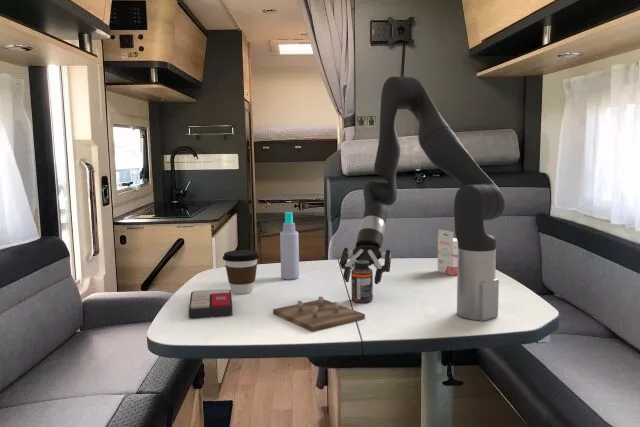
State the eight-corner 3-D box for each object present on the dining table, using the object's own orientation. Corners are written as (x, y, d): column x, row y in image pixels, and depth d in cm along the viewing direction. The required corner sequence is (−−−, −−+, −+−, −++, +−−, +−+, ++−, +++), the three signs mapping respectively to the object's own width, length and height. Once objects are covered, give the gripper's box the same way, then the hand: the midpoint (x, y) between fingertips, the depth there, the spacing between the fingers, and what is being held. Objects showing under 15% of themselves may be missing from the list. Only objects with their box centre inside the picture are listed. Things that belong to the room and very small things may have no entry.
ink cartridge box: (464, 274, 183) (465, 231, 181) (452, 276, 181) (453, 232, 179) (448, 269, 191) (448, 227, 189) (436, 271, 188) (437, 229, 187)
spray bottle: (292, 280, 177) (291, 213, 175) (277, 278, 180) (275, 213, 178) (302, 277, 182) (301, 211, 180) (287, 275, 185) (286, 211, 183)
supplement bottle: (350, 298, 155) (349, 259, 154) (370, 297, 156) (370, 258, 155) (352, 304, 150) (352, 263, 148) (374, 303, 150) (374, 263, 149)
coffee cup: (219, 290, 167) (217, 251, 165) (252, 285, 172) (251, 248, 170) (230, 298, 157) (229, 257, 156) (265, 293, 162) (264, 253, 160)
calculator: (188, 306, 138) (191, 288, 152) (189, 322, 139) (191, 303, 153) (232, 303, 140) (230, 286, 154) (232, 319, 141) (231, 301, 155)
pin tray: (364, 318, 136) (364, 304, 136) (312, 331, 127) (312, 316, 127) (322, 303, 151) (322, 290, 151) (273, 313, 142) (272, 299, 141)
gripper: (345, 226, 160) (333, 272, 151) (393, 228, 155) (384, 276, 146) (350, 241, 166) (339, 287, 156) (396, 243, 161) (388, 290, 152)
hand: (361, 281), depth 151 cm, fingers open, 8 cm apart
